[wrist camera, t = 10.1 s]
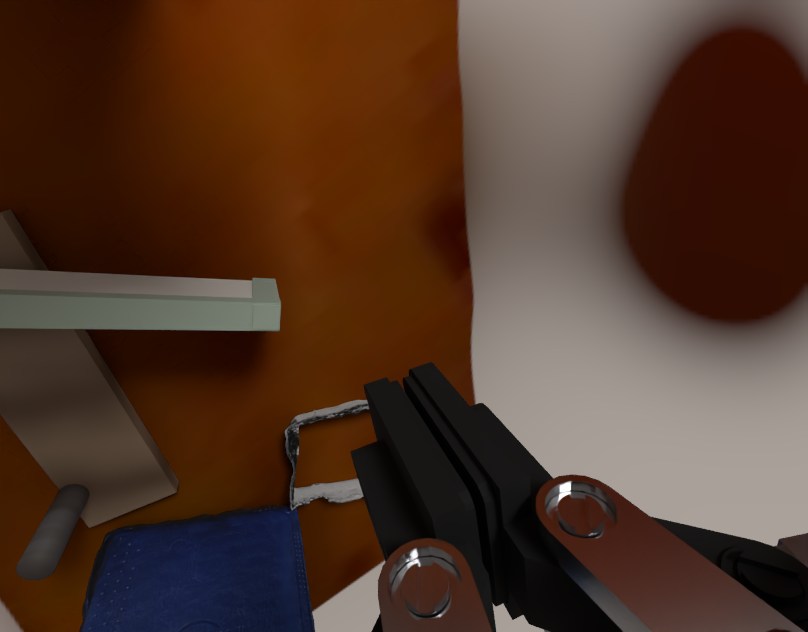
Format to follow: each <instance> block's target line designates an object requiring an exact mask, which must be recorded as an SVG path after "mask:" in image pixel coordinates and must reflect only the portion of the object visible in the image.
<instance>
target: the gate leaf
mask: <svg viewBox="0 0 808 632" xmlns="http://www.w3.org/2000/svg"><path fill="white" fill-rule="evenodd" d="M280 310H281V302H280V299H279V295H278V290H277V285H276V280H275V279H267V278H252V281H247V280H226V279H206V278H185V277H164V276H143V275H123V274H102V273H81V272H60V271H40V270H19V269H0V328H35V329H131V330H226V331H279V330H280Z"/></svg>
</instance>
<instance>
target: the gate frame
mask: <svg viewBox="0 0 808 632" xmlns="http://www.w3.org/2000/svg"><path fill="white" fill-rule="evenodd" d="M0 269H19V270H40V271H49V270H48V269H47V267H46V266H45V264H44V262H43V261H42V259H41V257H40V256H39V254H38V253H37V251H36V249H35V248H34V246H33V244H32V243H31V241H30V240H29V238H28V236H27V235H26V233H25V232H24V230H23V228H22V227H21V225H20V223H19V222H18V220H17V219H16V217H15V215H14V214H13V212H12V211H11V209H10V210H6V211H2V212H0ZM0 415H1V416H2V418H3V419H4V420H5V421H6V423H7V424H8V425H9V427H10V428H11V429H12V430H13V432H14V433H15V434H16V435H17V437H18V438H19V439H20V441H21V442H22V443H23V444H24V446H25V447H26V448H27V449H28V451H29V452H30V453H31V455H32V456H33V457H34V458H35V460H36V461H37V462H38V463H39V465H40V466H41V467H42V469H43V470H44V471H45V472H46V474H47V475H48V476H49V477H50V479H51V480H52V481H53V483H54V484H55V485H56V486H57V488H58V489H59V492H58V494H57V495H56V497H55V499H54V501H53V502H52V504H51V506H50V508H49V510H48V511H47V513H46V515H45V517H44V518H43V520H42V522H41V524H40V525H39V527H38V529H37V531H36V533H35V534H34V536H33V538H32V540H31V541H30V543H29V545H28V547H27V549H26V550H25V552H24V554H23V556H22V557H21V559H20V561H19V563H18V564H17V567H16V572H17V574H18V575H19V576H20V577H22V578H24V579H27V580H40V579H44V578H46V577H48V576H50V575H51V574H52V573H53V572H54V571H55V569H56V566H57V564H58V562H59V560H60V558H61V556H62V554H63V552H64V549H65V547H66V545H67V543H68V541H69V539H70V537H71V534H72V532H73V530H74V528H75V526H76V524H77V522H78V519H79V517H81V518H82V519H83V521H84V522H85V523H86V525H87V526H88V527H89V528H91V527H93V526H96V525H98V524H101V523H103V522H105V521H108V520H110V519H113V518H115V517H118V516H120V515H123V514H125V513H127V512H130V511H132V510H135V509H137V508H140V507H142V506H145V505H147V504H150V503H152V502H154V501H157V500H159V499H162V498H164V497H167V496H169V495H172V494H174V493H177V488H178V484H179V481H178V479H177V477H176V476H175V474H174V473H173V471H172V469H171V468H170V466H169V465H168V463H167V461H166V460H165V458H164V456H163V455H162V453H161V452H160V450H159V448H158V447H157V445H156V443H155V442H154V440H153V439H152V437H151V435H150V434H149V432H148V431H147V429H146V427H145V426H144V424H143V422H142V421H141V419H140V418H139V416H138V414H137V413H136V411H135V410H134V408H133V406H132V405H131V403H130V401H129V400H128V398H127V397H126V395H125V393H124V392H123V390H122V388H121V387H120V385H119V384H118V382H117V380H116V379H115V377H114V376H113V374H112V372H111V371H110V369H109V367H108V366H107V364H106V363H105V361H104V359H103V358H102V356H101V355H100V353H99V351H98V350H97V348H96V346H95V345H94V343H93V342H92V340H91V338H90V337H89V335H88V333H87V332H86V330H85V329H35V328H0Z"/></svg>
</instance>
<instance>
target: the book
mask: <svg viewBox="0 0 808 632" xmlns="http://www.w3.org/2000/svg"><path fill="white" fill-rule="evenodd" d="M82 614H83V623H82V625H81V628H80V631H79V632H315V629H314V619H313V615H312V610H311V601H310V594H309V587H308V580H307V574H306V564H305V557H304V549H303V542H302V533H301V527H300V523H299V518H298V511H297V508H294V509H293V510H292V509H291V505H283V506H274V505H268V506H262V507H259V508H256V509H251V508H248V509H237V510H235V511H226V512H223V513H221V514H218V515H214V516H213V515H207V514H206V515H200V516H197V517H194V518H190V519H184V520H176V521H165V522H161V523H157V524H149V525H142V524H140V525H133V526H126V527H122V528H118V529H116V530H114V531H111V532H109V533H107V534H106V536H105V538H104V541H103V544H102V546H101V548H100V549H99V551H98V553H97V556H96V558H95V562H94V566H93V569H92V573H91V576H90V579H89V583H88V587H87V591H86V598H85V602H84V605H83V612H82Z"/></svg>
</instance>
